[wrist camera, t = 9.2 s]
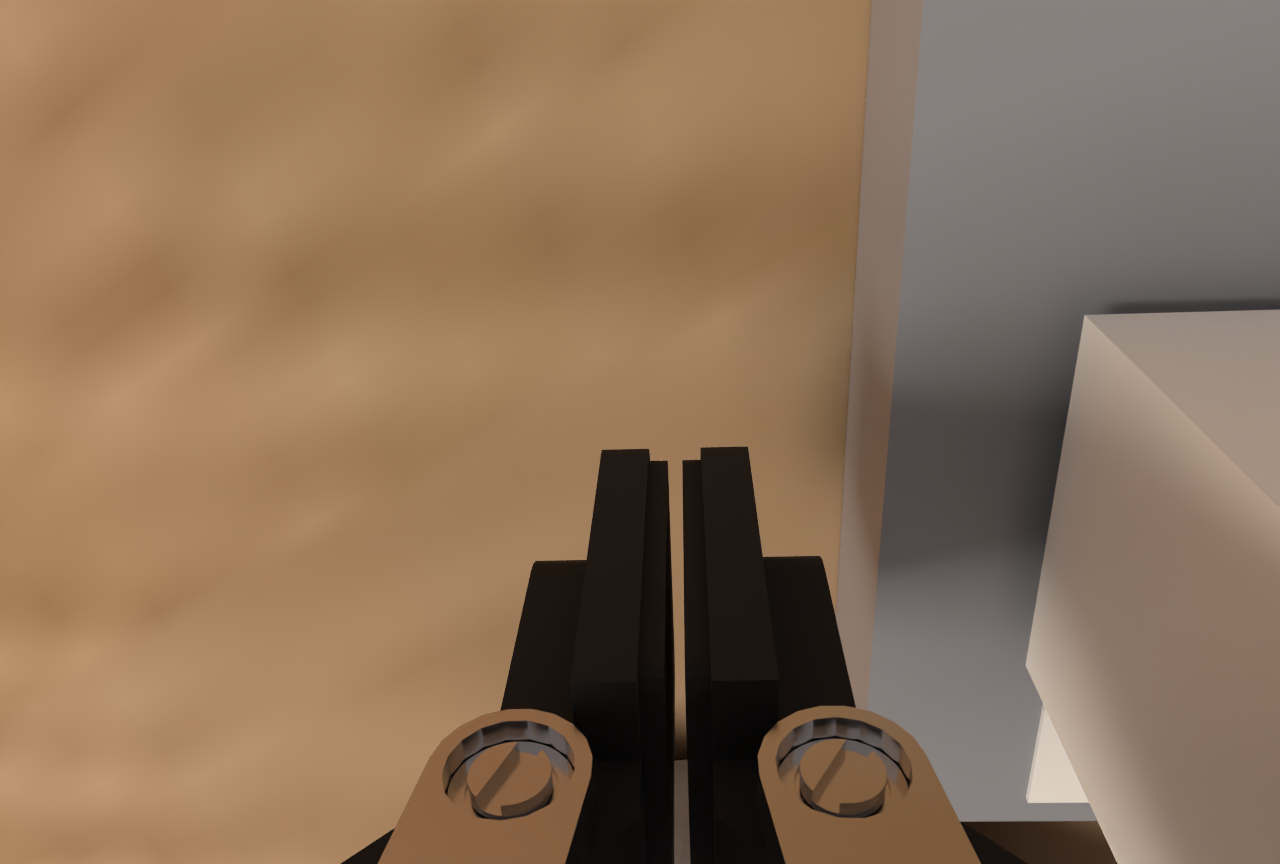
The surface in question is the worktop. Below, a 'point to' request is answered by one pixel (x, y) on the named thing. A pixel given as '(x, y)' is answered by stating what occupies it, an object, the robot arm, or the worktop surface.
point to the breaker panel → (1022, 324)
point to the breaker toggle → (1169, 586)
